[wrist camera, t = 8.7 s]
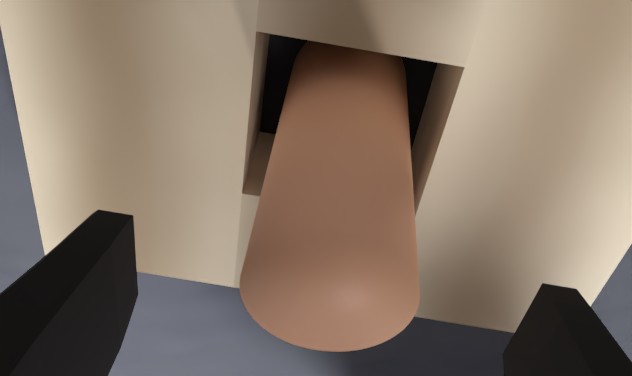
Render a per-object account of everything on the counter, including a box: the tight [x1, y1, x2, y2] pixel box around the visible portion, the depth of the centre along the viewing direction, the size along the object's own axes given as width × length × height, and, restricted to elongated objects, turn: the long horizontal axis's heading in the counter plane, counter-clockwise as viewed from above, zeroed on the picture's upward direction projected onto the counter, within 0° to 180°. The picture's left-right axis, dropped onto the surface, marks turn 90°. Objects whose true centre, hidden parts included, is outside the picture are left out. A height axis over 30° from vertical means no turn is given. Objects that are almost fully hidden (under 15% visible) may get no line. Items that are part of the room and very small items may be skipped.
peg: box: [239, 40, 420, 352], centre depth 14 cm, size 3×3×8 cm
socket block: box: [0, 0, 632, 333], centre depth 16 cm, size 16×12×3 cm
